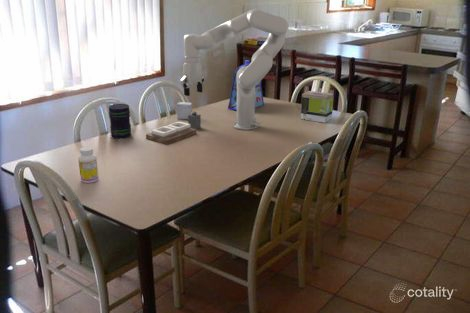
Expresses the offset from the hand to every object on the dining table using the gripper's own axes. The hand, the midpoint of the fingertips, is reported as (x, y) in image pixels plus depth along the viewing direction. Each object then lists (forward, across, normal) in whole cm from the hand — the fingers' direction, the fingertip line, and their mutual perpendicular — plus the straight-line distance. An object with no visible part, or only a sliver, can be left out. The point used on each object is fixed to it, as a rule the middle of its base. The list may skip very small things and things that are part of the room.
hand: (193, 93), depth 231 cm
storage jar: (+18, +32, -20) cm, 42 cm away
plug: (+18, 0, 0) cm, 18 cm away
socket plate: (+16, +17, -1) cm, 24 cm away
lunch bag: (+19, -51, -3) cm, 54 cm away
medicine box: (+18, -10, -16) cm, 26 cm away
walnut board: (+18, +17, 0) cm, 25 cm away
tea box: (+19, -54, +43) cm, 72 cm away
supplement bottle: (+18, +75, +13) cm, 78 cm away
